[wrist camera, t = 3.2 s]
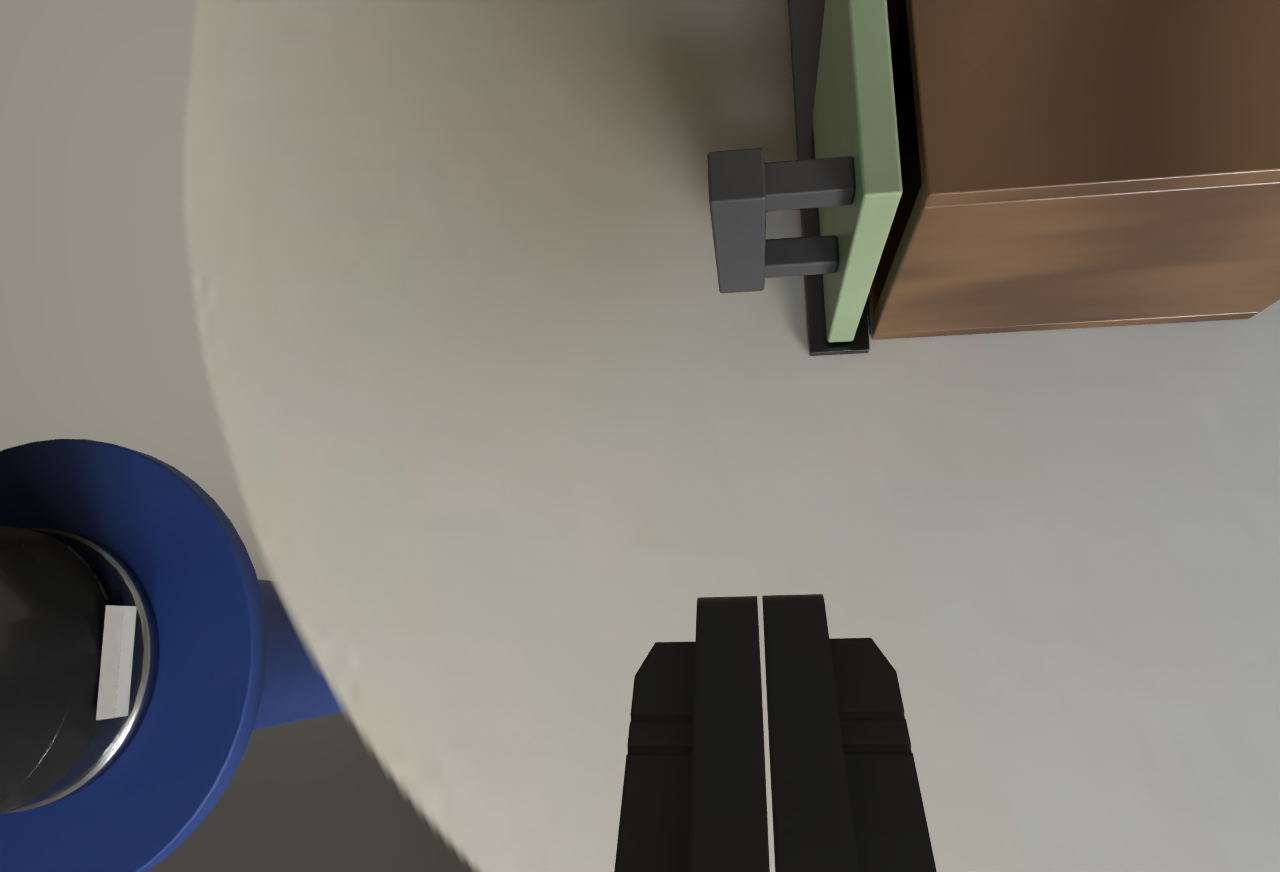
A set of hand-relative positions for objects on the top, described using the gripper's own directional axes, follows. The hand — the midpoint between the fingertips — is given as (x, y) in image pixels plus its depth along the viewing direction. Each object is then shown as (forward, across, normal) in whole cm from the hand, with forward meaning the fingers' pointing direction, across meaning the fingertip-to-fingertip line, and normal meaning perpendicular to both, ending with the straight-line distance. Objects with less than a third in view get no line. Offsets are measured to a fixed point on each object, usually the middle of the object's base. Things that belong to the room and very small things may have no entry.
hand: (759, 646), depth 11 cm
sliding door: (+20, -1, +3) cm, 20 cm away
